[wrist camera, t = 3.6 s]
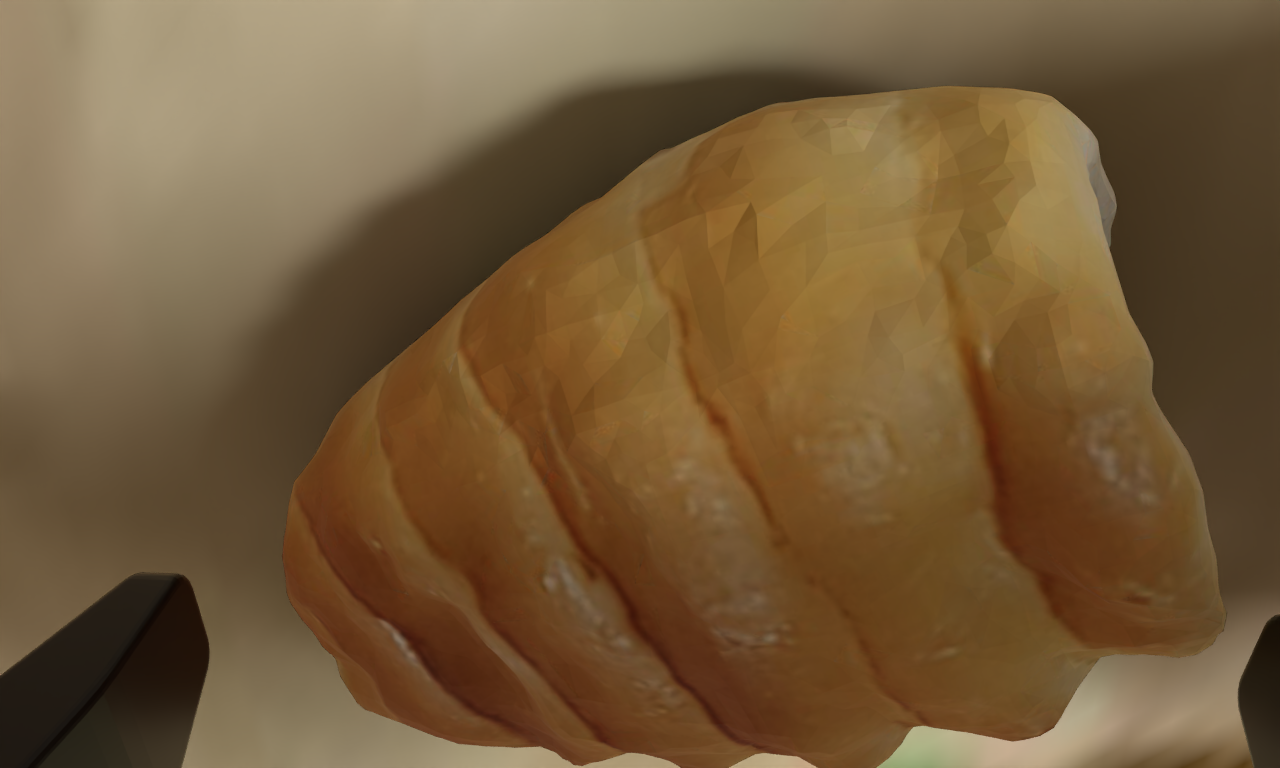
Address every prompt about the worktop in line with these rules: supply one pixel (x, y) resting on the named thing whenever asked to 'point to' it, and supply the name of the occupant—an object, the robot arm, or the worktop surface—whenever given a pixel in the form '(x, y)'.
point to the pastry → (771, 456)
